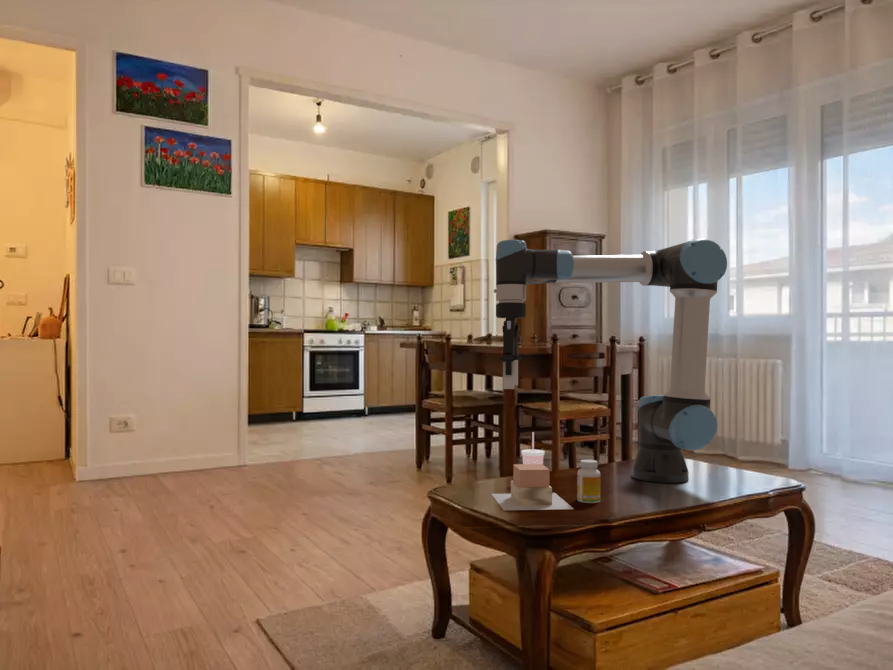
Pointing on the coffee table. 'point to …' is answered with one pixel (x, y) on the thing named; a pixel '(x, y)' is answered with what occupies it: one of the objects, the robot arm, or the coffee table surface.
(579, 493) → the supplement bottle
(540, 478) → the tower top block
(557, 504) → the tower mat
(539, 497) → the tower base block
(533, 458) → the beverage cup
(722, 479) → the coffee table surface
